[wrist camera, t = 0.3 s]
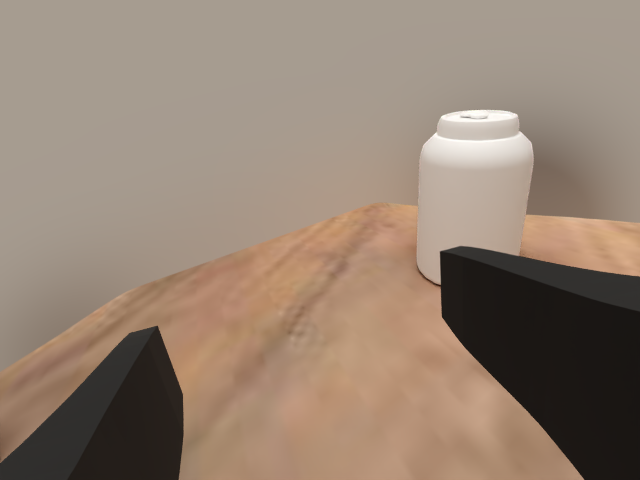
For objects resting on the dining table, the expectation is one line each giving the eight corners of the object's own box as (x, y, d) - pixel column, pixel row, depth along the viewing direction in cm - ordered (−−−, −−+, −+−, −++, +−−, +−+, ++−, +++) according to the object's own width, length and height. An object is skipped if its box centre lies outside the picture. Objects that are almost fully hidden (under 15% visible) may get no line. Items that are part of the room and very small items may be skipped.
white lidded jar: (406, 251, 58) (409, 111, 50) (491, 244, 58) (508, 102, 50) (430, 298, 47) (439, 126, 38) (535, 289, 47) (567, 115, 38)
